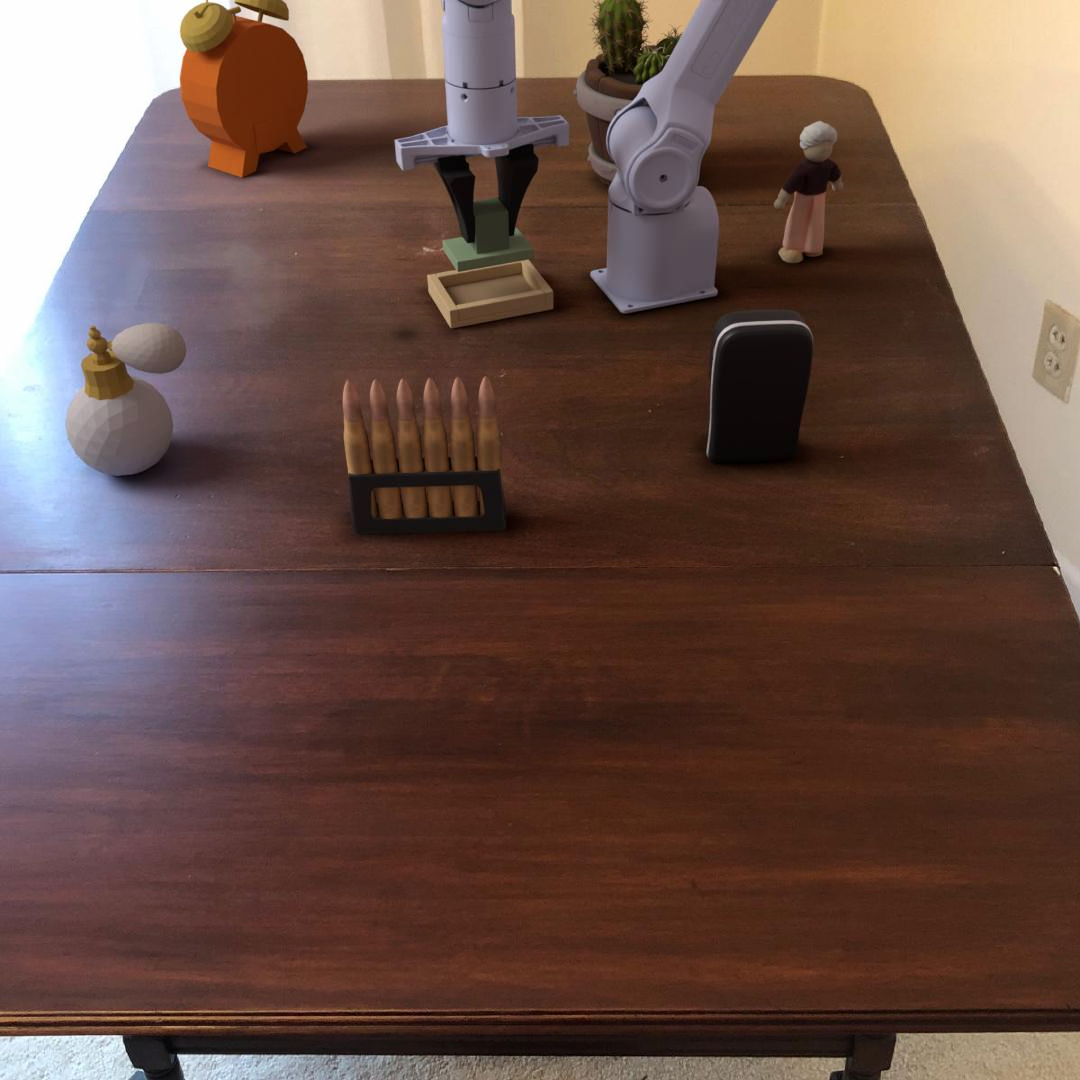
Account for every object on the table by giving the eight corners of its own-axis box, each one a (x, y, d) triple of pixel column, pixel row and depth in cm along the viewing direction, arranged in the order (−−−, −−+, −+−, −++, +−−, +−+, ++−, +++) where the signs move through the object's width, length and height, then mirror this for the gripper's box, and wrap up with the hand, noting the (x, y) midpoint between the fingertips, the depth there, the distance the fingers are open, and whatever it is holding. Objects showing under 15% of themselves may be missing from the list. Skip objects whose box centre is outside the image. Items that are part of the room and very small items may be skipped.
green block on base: (517, 237, 110) (516, 190, 107) (534, 258, 107) (533, 210, 104) (442, 250, 108) (439, 202, 106) (457, 272, 105) (454, 223, 102)
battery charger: (788, 432, 94) (807, 299, 87) (799, 462, 91) (820, 326, 84) (698, 436, 94) (709, 303, 86) (706, 466, 91) (718, 330, 83)
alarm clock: (279, 131, 142) (251, -54, 129) (318, 143, 139) (293, -46, 127) (193, 170, 134) (153, -24, 121) (232, 183, 131) (196, -14, 118)
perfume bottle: (80, 442, 94) (37, 303, 86) (208, 423, 96) (178, 285, 88) (77, 500, 88) (31, 357, 81) (214, 478, 90) (181, 336, 83)
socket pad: (527, 274, 114) (526, 256, 113) (553, 309, 109) (553, 291, 108) (428, 292, 112) (427, 274, 111) (450, 329, 107) (449, 310, 106)
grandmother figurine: (793, 272, 114) (811, 139, 106) (762, 258, 116) (777, 127, 108) (845, 247, 118) (866, 116, 110) (813, 233, 120) (831, 105, 112)
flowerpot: (736, 165, 133) (754, -31, 120) (670, 218, 123) (683, 10, 110) (620, 139, 139) (625, -50, 126) (548, 187, 129) (547, -13, 117)
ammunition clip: (352, 534, 85) (331, 388, 77) (355, 517, 87) (334, 372, 79) (506, 530, 85) (500, 384, 78) (506, 513, 87) (500, 368, 79)
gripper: (405, 106, 93) (419, 268, 102) (583, 81, 97) (581, 240, 105) (382, 76, 98) (397, 233, 107) (552, 54, 102) (552, 207, 111)
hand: (487, 234), depth 106 cm, fingers closed on green block on base, 3 cm apart
